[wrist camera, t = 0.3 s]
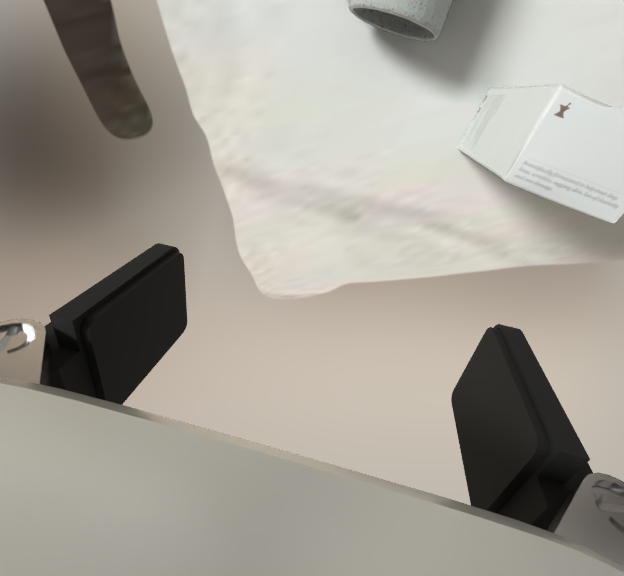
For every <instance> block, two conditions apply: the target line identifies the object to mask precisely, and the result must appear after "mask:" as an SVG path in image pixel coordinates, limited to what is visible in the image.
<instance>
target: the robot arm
mask: <svg viewBox="0 0 624 576" xmlns="http://www.w3.org/2000/svg"><path fill="white" fill-rule="evenodd" d="M49 316H50V319H51V322H50V323H49V324H48V325H46V326H43V325H42V324H41V323H40V322H37V321H35V320H28V319H13V320H7V321H3V322H0V576H624V482H623V481H621V480H619V479H617V478H615V477H612V476H610V475H606V474H601V473H593V472H592V470H591V468H590V466H589V464H588V463H587V462H588V461H589V460H590V458H589V457H588V455H587V453H586V451H585V449H584V447H583V445H582V443H581V442H580V440H579V438H578V436H577V434H576V432H575V430H574V428H573V426H572V425H571V423H570V421H569V419H568V417H567V415H566V413H565V411H564V410H563V408H562V406H561V404H560V402H559V400H558V398H557V396H556V395H555V393H554V391H553V389H552V387H551V385H550V383H549V381H548V379H547V378H546V376H545V374H544V372H543V370H542V368H541V366H540V365H539V362H538V361H537V359H536V357H535V355H534V353H533V351H532V349H531V347H530V346H529V344H528V342H527V340H526V338H525V336H524V334H523V332H522V331H521V330H520V329H517V328H513V327H508V326H504V325H500V324H498V325H496V326H495V327H494V328H491V327H490V328H488V329H487V330H486V332H485V334H484V335H483V337H482V339H481V341H480V343H479V345H478V346H477V348H476V350H475V352H474V354H473V356H472V357H471V359H470V361H469V363H468V365H467V367H466V368H465V370H464V372H463V374H462V376H461V377H460V379H459V381H458V383H457V385H456V387H455V388H454V391H453V393H452V407H453V412H454V417H455V422H456V428H457V433H458V439H459V444H460V449H461V454H462V460H463V465H464V470H465V475H466V480H467V486H468V491H469V496H470V502H471V506H470V505H467V504H464V503H461V502H457V501H454V500H451V499H448V498H444V497H441V496H438V495H434V494H431V493H427V492H424V491H420V490H417V489H414V488H410V487H407V486H403V485H399V484H397V483H393V482H390V481H386V480H383V479H379V478H376V477H373V476H369V475H366V474H362V473H359V472H355V471H352V470H349V469H345V468H342V467H338V466H335V465H332V464H328V463H324V462H321V461H318V460H314V459H311V458H307V457H304V456H300V455H297V454H293V453H290V452H286V451H283V450H279V449H276V448H272V447H269V446H265V445H262V444H258V443H254V442H251V441H248V440H244V439H241V438H237V437H234V436H230V435H227V434H223V433H220V432H216V431H213V430H209V429H206V428H202V427H199V426H195V425H192V424H188V423H184V422H181V421H177V420H174V419H170V418H167V417H163V416H159V415H156V414H152V413H149V412H145V411H141V410H138V409H134V408H131V407H127V406H124V405H122V404H123V402H125V400H126V399H127V398H128V397H129V396H130V394H131V393H132V392H133V391H134V390H135V389H136V387H137V386H138V385H139V384H140V383H141V382H142V380H143V379H144V378H145V377H146V376H147V375H148V373H149V372H150V371H151V370H152V368H153V367H154V366H155V365H156V364H157V363H158V362H159V360H160V359H161V358H162V357H163V355H164V354H165V353H166V352H167V351H168V350H169V349H170V347H171V346H172V345H173V344H174V343H175V341H176V340H177V339H178V338H179V337H180V336H181V334H182V333H183V332H184V330H185V328H186V325H187V309H186V291H185V272H184V257H183V255H182V254H181V253H179V250H178V249H177V248H176V247H172V246H168V245H164V244H159V243H158V244H155V245H154V246H152V247H151V248H149V249H148V250H146V251H145V252H144V253H142V254H140V255H139V256H137V257H136V258H134V259H133V260H131V261H130V262H128V263H127V264H125V265H124V266H122V267H121V268H119V269H118V270H116V271H115V272H113V273H112V274H110V275H109V276H107V277H106V278H104V279H103V280H101V281H100V282H98V283H97V284H95V285H94V286H92V287H91V288H89V289H88V290H86V291H85V292H83V293H82V294H80V295H79V296H77V297H76V298H74V299H73V300H71V301H70V302H68V303H67V304H65V305H64V306H62V307H61V308H59V309H58V310H56V311H55V312H53V313H52V314H50V315H49Z"/></svg>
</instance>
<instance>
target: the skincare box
mask: <svg viewBox="0 0 624 576" xmlns="http://www.w3.org/2000/svg"><path fill="white" fill-rule="evenodd" d="M458 150H460V151H461V152H463V153H464V154H466V155H467V156H469V157H470V158H472V159H473V160H475V161H476V162H478V163H479V164H481V165H482V166H484V167H485V168H487V169H488V170H490V171H492V172H493V173H495V174H496V175H497V176H499V177H500V178H502V179H503V180H504V181H505V182H507V183H509V184H511V185H514V186H516V187H518V188H521V189H523V190H525V191H528V192H530V193H533V194H535V195H537V196H540V197H542V198H545V199H548V200H550V201H553V202H555V203H558V204H560V205H563V206H565V207H568V208H571V209H574V210H576V211H579V212H581V213H584V214H586V215H589V216H592V217H594V218H597V219H600V220H603V221H606V222H609V223H612V224H614V223H616V222H617V221H618V219H619V218H620V217H621V216H622V215H623V214H624V108H620V107H611V106H608V105H606V104H603V103H601V102H598V101H596V100H593V99H591V98H588V97H586V96H584V95H582V94H580V93H578V92H576V91H575V90H573V89H571V88H569V87H567V86H565V85H544V86H522V87H500V88H489V90H488V91H487V93H486V95H485V97H484V99H483V101H482V103H481V104H480V106H479V108H478V110H477V112H476V114H475V116H474V118H473V119H472V121H471V123H470V125H469V127H468V129H467V131H466V133H465V135H464V136H463V138H462V140H461V142H460V144H459V146H458Z"/></svg>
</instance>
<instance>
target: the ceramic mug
mask: <svg viewBox="0 0 624 576" xmlns="http://www.w3.org/2000/svg"><path fill="white" fill-rule="evenodd" d="M451 3H452V0H351V1H350V5H349V9H350V11H351V12H352V13H353V14H354V15H355V16H357V17H358V18H359V19H361V20H363V21H364V22H367V23H369V24H370V25H373V26H375V27H377V28H380V29H383V30H385V31H387V32H390V33H393V34H396V35H399V36H402V37H406V38H411V39H415V40H421V41H432V40H435V39H437V38H438V37H439V35H440V33H441V30H442V27H443V25H444V22H445V19H446V16H447V13H448V11H449V8H450V6H451Z"/></svg>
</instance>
